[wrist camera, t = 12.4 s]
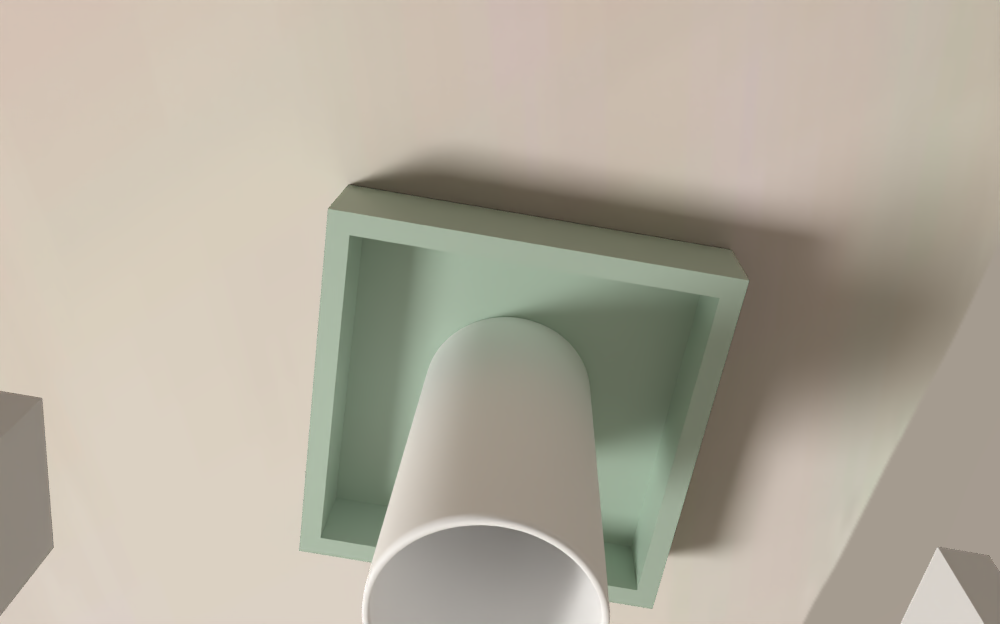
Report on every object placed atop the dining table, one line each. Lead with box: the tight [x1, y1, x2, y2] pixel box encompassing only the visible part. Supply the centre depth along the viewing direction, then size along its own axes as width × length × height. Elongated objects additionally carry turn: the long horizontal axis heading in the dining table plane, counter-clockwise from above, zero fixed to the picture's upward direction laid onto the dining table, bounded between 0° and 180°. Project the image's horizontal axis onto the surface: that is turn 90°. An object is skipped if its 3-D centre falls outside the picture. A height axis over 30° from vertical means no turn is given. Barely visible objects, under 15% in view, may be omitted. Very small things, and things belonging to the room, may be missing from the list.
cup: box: [362, 317, 610, 624], centre depth 36 cm, size 8×8×16 cm
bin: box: [299, 185, 749, 609], centre depth 42 cm, size 18×18×4 cm
